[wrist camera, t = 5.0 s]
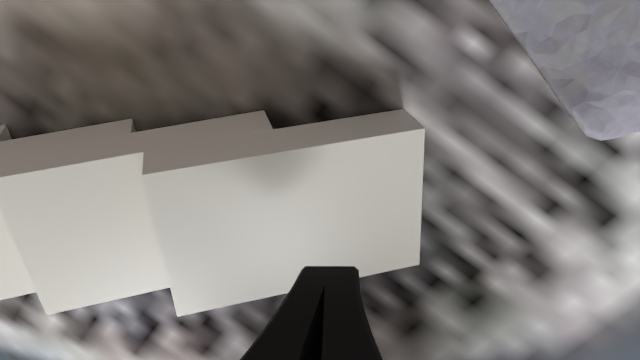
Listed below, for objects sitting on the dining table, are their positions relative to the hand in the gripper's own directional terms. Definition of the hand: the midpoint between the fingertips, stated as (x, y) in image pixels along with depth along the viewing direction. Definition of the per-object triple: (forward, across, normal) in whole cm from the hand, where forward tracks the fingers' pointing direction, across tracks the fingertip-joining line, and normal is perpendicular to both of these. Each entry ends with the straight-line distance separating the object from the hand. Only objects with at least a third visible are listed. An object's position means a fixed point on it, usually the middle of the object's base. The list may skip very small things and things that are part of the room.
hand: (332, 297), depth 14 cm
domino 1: (+5, -2, 0) cm, 6 cm away
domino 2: (+5, +2, 0) cm, 6 cm away
